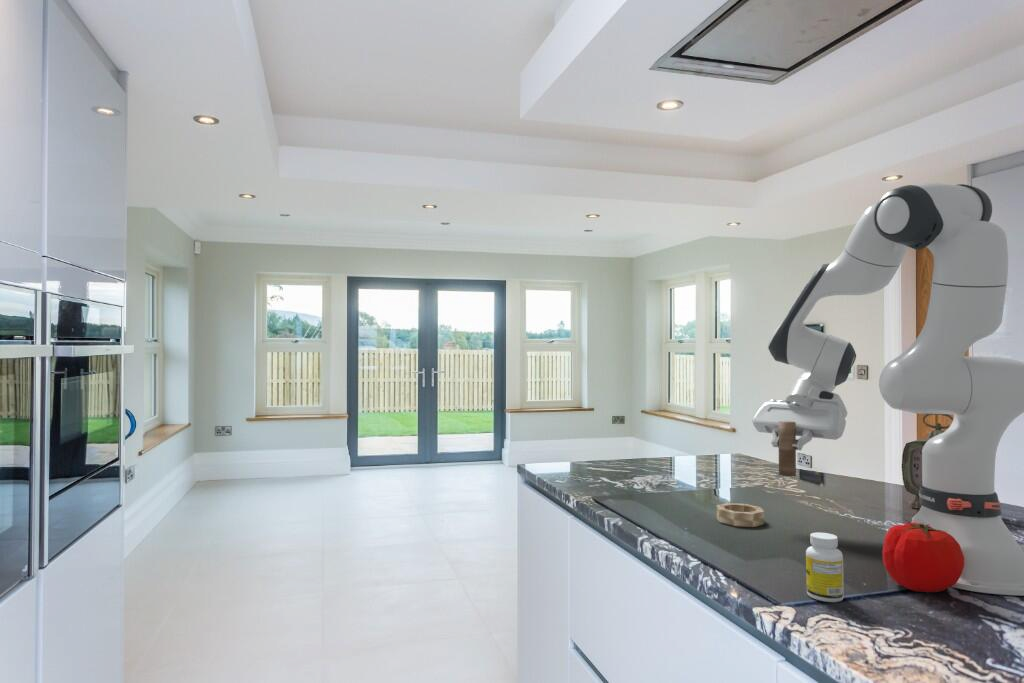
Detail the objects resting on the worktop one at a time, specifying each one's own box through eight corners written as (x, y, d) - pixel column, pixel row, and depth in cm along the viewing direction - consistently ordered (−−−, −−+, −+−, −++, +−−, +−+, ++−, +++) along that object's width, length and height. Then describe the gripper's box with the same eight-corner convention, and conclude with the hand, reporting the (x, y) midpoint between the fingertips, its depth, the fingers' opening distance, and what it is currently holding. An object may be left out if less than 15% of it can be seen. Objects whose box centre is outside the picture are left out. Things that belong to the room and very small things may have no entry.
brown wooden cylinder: (797, 476, 141) (797, 423, 142) (780, 475, 142) (780, 422, 142) (793, 473, 145) (793, 421, 145) (777, 473, 145) (776, 421, 146)
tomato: (882, 573, 113) (882, 510, 113) (961, 585, 107) (960, 519, 107) (882, 594, 103) (881, 525, 103) (968, 608, 97) (967, 535, 97)
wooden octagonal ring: (766, 527, 143) (766, 514, 143) (720, 525, 145) (720, 512, 145) (758, 516, 153) (758, 504, 153) (715, 514, 155) (715, 502, 155)
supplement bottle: (811, 588, 105) (810, 529, 106) (847, 596, 102) (846, 535, 102) (802, 597, 101) (801, 536, 101) (839, 606, 98) (838, 542, 98)
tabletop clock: (901, 507, 163) (901, 411, 164) (912, 502, 169) (911, 409, 170) (969, 518, 153) (968, 415, 153) (978, 512, 159) (977, 413, 159)
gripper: (760, 391, 156) (738, 433, 150) (846, 395, 140) (825, 442, 134) (770, 408, 159) (749, 450, 153) (855, 414, 143) (835, 461, 137)
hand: (785, 446), depth 143 cm, fingers closed on brown wooden cylinder, 4 cm apart
